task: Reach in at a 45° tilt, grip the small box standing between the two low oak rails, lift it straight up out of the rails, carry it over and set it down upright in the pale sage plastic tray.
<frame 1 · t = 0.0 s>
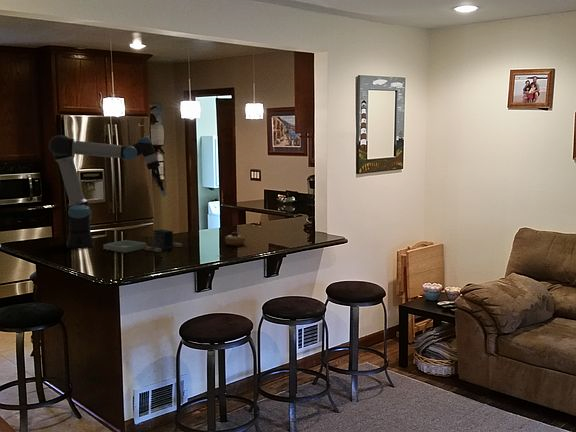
hand: (164, 194, 383), 28 cm above the table, tool tilted 20°, fingers open, 13 cm apart
tray: (125, 248, 356), on the table
oak cradle: (163, 248, 358), on the table
pumpkin: (235, 245, 371), on the table
small box: (163, 248, 358), on the table
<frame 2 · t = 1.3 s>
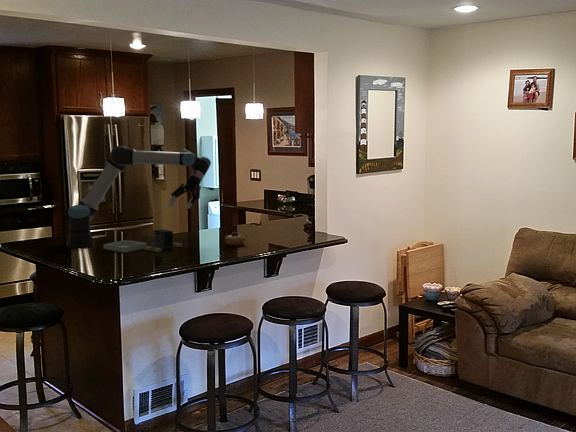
hand: (179, 206, 366), 23 cm above the table, tool tilted 45°, fingers open, 13 cm apart
nothing on the table moved.
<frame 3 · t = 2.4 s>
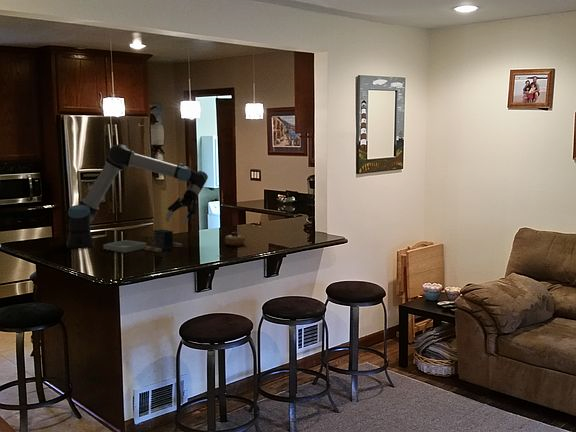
hand: (175, 221, 365), 14 cm above the table, tool tilted 45°, fingers open, 13 cm apart
nothing on the table moved.
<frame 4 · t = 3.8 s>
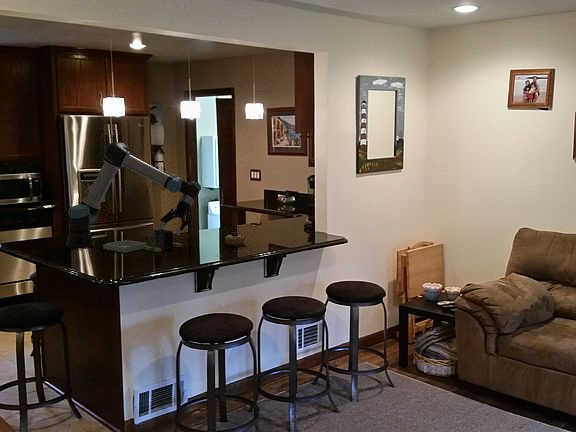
hand: (168, 233, 359), 9 cm above the table, tool tilted 45°, fingers open, 13 cm apart
nothing on the table moved.
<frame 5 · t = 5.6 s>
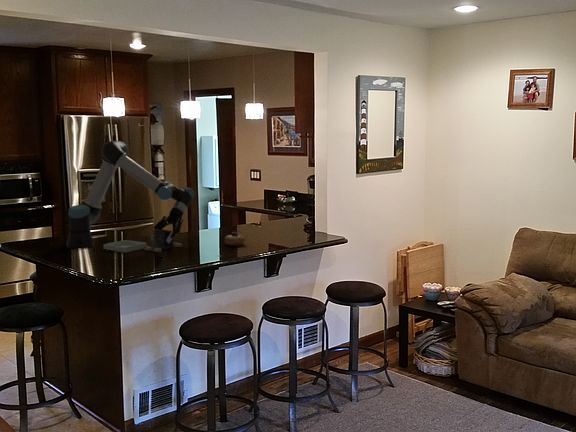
hand: (159, 241, 355), 5 cm above the table, tool tilted 45°, fingers closed on small box, 11 cm apart
small box: (163, 248, 358), on the table, touching gripper
everything else where it was.
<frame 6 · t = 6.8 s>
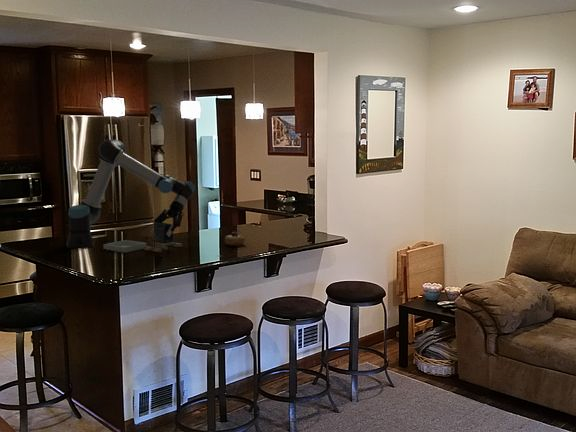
hand: (160, 234, 355), 9 cm above the table, tool tilted 45°, fingers closed on small box, 11 cm apart
small box: (163, 242, 358), point 4 cm above the table, touching gripper
everything else where it was.
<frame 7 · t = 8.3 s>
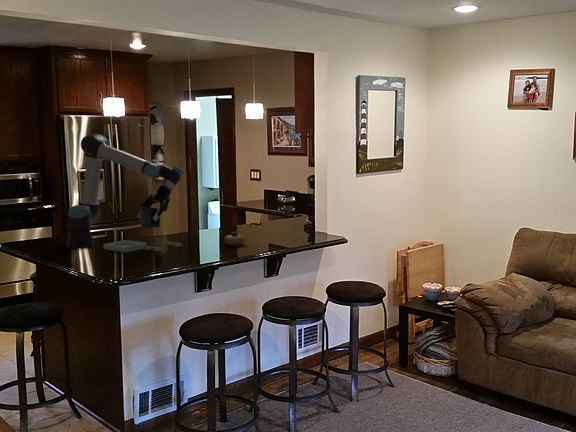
hand: (146, 218, 353), 18 cm above the table, tool tilted 45°, fingers closed on small box, 11 cm apart
small box: (150, 226, 356), point 13 cm above the table, touching gripper
everything else where it was.
when the fingers open (6 cm above the table, at t = 12.2 s): small box stays where it is, resting on tray.
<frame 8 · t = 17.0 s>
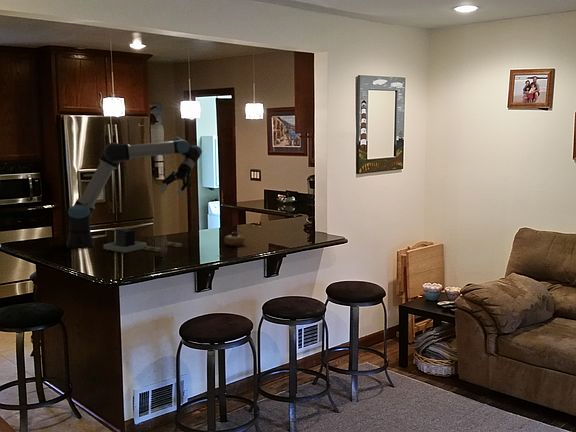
hand: (169, 193, 372), 30 cm above the table, tool tilted 45°, fingers open, 13 cm apart
small box: (125, 248, 356), resting on tray
everything else where it was.
at the end: small box inside the target area on the tray (0.1 cm from its centre), point 0.3 cm above the tray's base; small box tilted 0°; the gripper is holding nothing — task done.
